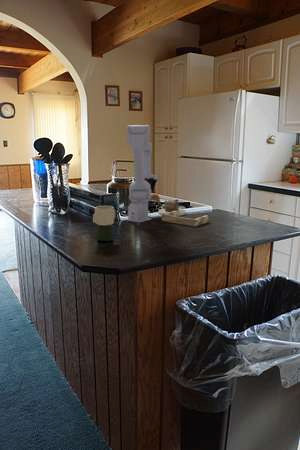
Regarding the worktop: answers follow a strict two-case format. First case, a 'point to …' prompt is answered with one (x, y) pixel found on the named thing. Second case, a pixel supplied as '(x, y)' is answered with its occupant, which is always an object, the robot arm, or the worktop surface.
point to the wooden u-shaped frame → (183, 219)
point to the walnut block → (171, 206)
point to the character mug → (104, 222)
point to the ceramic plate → (162, 211)
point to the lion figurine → (155, 198)
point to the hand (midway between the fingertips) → (145, 192)
